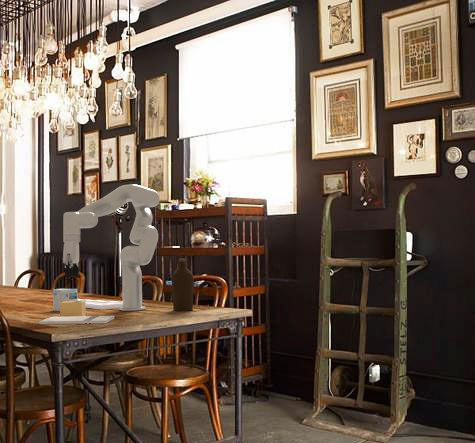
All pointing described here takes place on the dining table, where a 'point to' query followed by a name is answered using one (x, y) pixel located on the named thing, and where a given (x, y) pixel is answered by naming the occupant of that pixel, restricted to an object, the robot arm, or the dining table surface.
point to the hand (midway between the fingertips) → (71, 276)
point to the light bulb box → (63, 297)
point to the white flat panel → (76, 319)
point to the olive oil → (182, 288)
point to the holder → (101, 304)
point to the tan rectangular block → (72, 308)
